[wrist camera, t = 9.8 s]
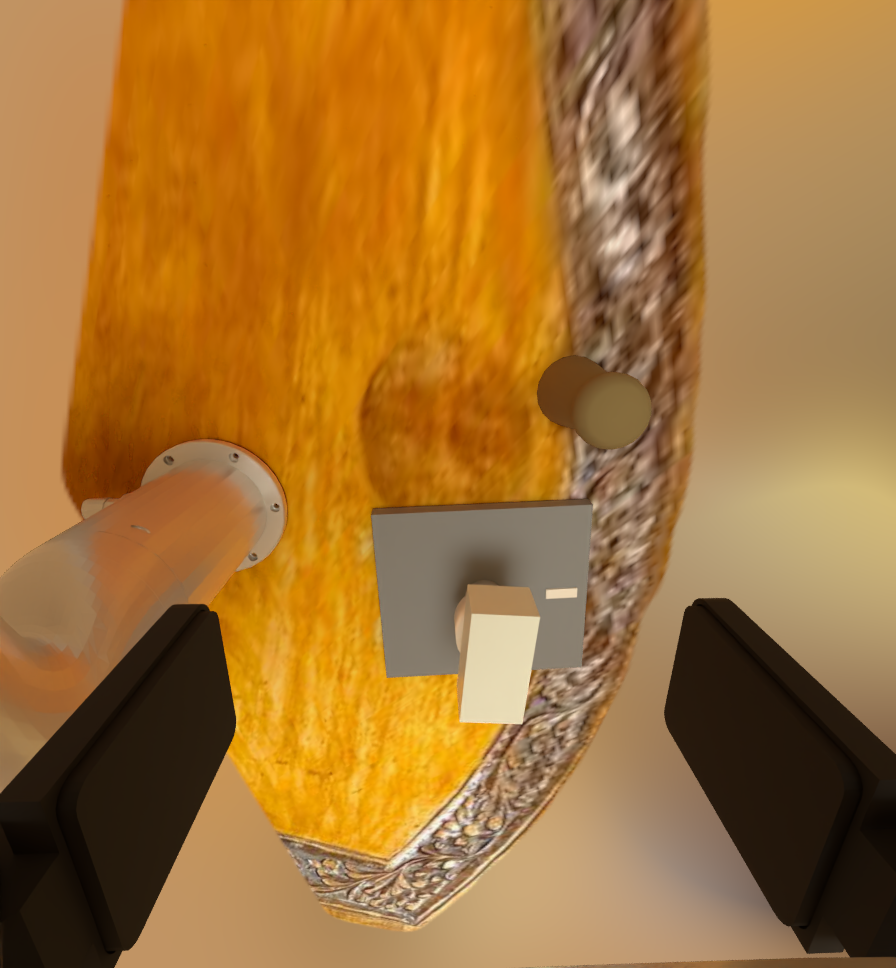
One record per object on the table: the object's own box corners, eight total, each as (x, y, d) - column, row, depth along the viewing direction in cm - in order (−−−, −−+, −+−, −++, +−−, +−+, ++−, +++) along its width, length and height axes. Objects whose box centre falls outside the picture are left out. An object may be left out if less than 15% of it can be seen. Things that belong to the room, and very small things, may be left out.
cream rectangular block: (459, 565, 41) (464, 613, 34) (528, 569, 41) (547, 617, 34) (449, 665, 44) (452, 726, 37) (513, 668, 44) (527, 729, 38)
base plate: (388, 667, 50) (384, 699, 45) (373, 508, 44) (366, 529, 39) (577, 657, 50) (590, 688, 46) (587, 498, 44) (604, 517, 40)
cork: (527, 415, 41) (559, 447, 31) (551, 346, 40) (595, 355, 29) (590, 434, 42) (643, 471, 32) (617, 367, 40) (682, 384, 30)
